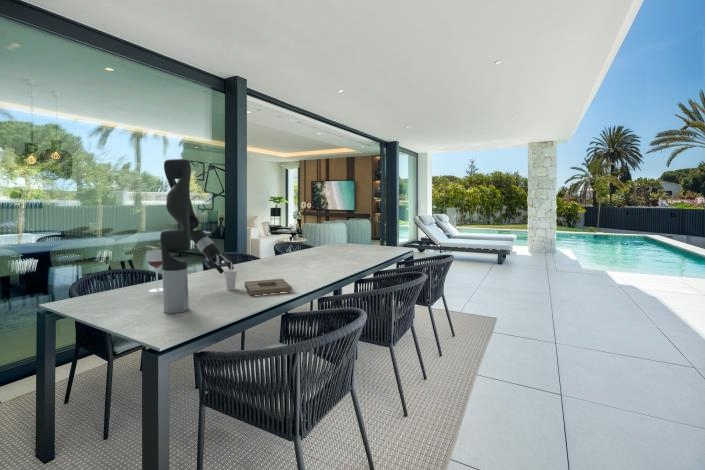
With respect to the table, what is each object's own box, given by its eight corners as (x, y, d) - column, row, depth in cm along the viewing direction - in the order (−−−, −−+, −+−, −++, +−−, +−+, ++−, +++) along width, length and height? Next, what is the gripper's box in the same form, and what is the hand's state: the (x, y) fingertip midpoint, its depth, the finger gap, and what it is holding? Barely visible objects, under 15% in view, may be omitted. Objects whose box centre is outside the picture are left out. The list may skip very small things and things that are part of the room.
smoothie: (233, 291, 178) (232, 263, 177) (221, 290, 179) (221, 263, 178) (239, 288, 184) (239, 261, 183) (228, 287, 186) (228, 261, 184)
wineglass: (170, 288, 183) (168, 249, 181) (159, 292, 174) (157, 252, 172) (155, 287, 184) (154, 249, 182) (144, 291, 175) (142, 251, 173)
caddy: (291, 292, 177) (291, 286, 176) (250, 296, 168) (250, 290, 168) (282, 284, 195) (282, 278, 195) (244, 287, 187) (244, 281, 186)
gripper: (202, 244, 176) (223, 268, 174) (220, 241, 189) (240, 263, 187) (194, 254, 178) (214, 278, 176) (212, 250, 191) (231, 273, 189)
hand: (227, 270), depth 182 cm, fingers open, 8 cm apart
